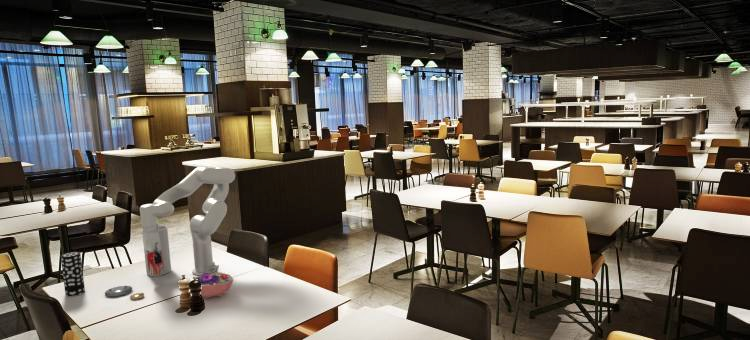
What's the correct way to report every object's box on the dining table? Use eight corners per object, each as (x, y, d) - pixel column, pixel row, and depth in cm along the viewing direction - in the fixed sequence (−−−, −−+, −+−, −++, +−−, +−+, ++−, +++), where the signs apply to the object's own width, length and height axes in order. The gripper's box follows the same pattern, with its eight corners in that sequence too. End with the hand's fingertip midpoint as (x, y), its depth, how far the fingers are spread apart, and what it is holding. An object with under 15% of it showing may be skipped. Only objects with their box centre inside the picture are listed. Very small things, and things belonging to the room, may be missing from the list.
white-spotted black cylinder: (61, 294, 238) (56, 255, 235) (78, 288, 245) (74, 251, 242) (71, 297, 234) (66, 258, 231) (88, 291, 241) (84, 253, 238)
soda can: (167, 271, 250) (163, 247, 248) (159, 276, 243) (156, 252, 241) (154, 271, 251) (151, 247, 249) (146, 277, 244) (143, 252, 242)
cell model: (223, 304, 220) (221, 280, 219) (184, 301, 224) (182, 278, 223) (240, 289, 237) (239, 267, 235) (204, 288, 241) (202, 266, 239)
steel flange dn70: (137, 288, 243) (137, 285, 242) (120, 298, 231) (119, 295, 231) (117, 287, 245) (117, 284, 245) (99, 296, 234) (98, 293, 234)
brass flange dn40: (147, 295, 233) (146, 293, 233) (138, 300, 228) (138, 298, 227) (136, 294, 235) (136, 292, 235) (127, 299, 229) (127, 297, 229)
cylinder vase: (146, 270, 269) (142, 227, 265) (170, 267, 274) (166, 224, 271) (146, 277, 258) (141, 232, 254) (171, 273, 263) (167, 229, 259)
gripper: (136, 227, 246) (141, 260, 249) (150, 233, 234) (155, 267, 237) (151, 224, 252) (155, 256, 255) (165, 229, 240) (170, 263, 243)
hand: (155, 261), depth 246 cm, fingers closed on soda can, 7 cm apart
